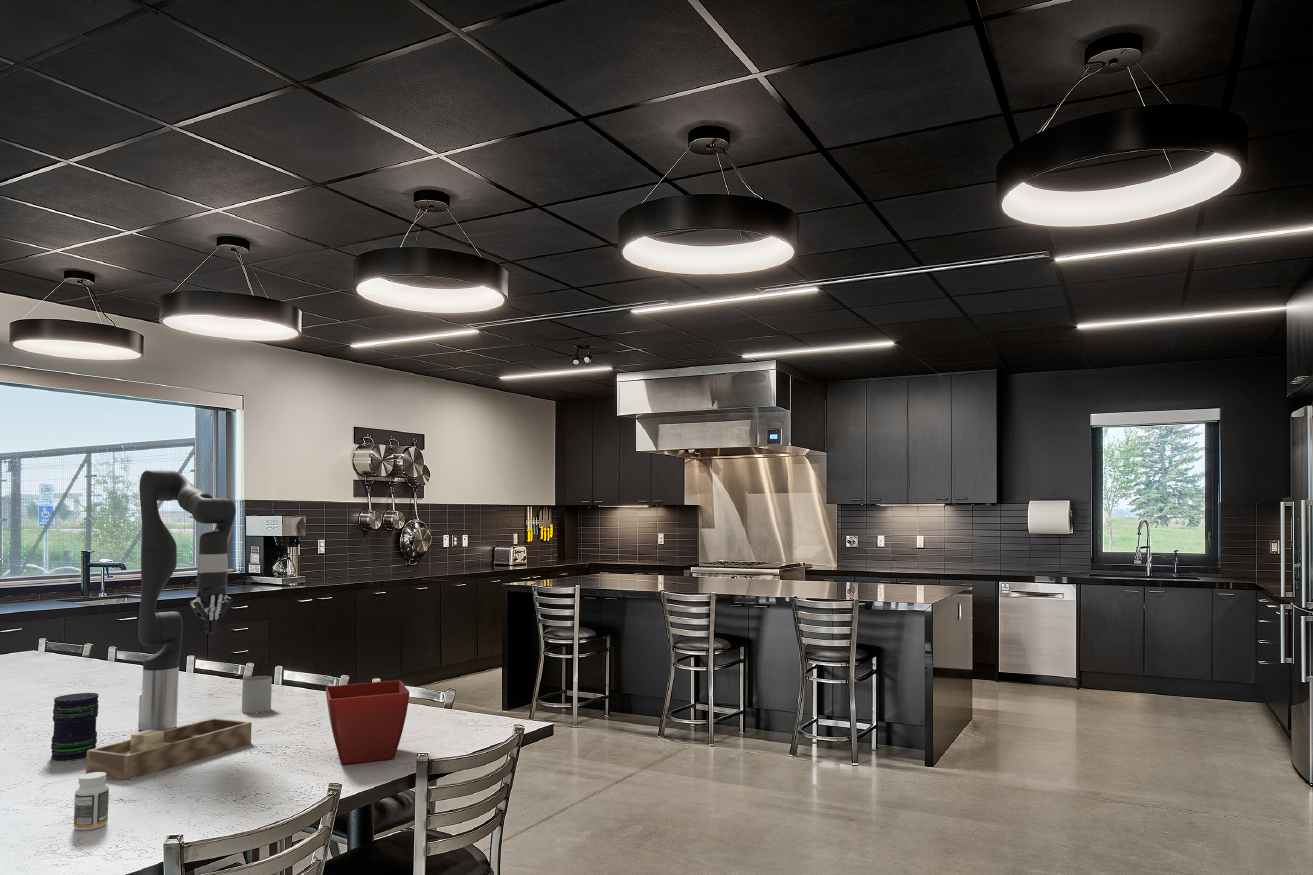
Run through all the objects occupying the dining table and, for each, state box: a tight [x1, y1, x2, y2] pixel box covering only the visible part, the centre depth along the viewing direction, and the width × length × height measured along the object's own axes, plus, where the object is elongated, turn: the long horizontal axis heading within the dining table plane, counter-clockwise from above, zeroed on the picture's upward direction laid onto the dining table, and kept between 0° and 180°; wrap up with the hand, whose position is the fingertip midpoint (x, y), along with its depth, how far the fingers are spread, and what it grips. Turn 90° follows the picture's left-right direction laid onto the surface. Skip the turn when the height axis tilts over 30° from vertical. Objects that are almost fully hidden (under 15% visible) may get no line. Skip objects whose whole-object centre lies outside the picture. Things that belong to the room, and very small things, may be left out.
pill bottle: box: [73, 772, 110, 831], centre depth 175 cm, size 6×6×10 cm
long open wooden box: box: [85, 717, 252, 781], centre depth 225 cm, size 36×14×6 cm, turn 158°
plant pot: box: [325, 680, 410, 765], centre depth 226 cm, size 19×19×17 cm
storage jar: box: [50, 692, 99, 762], centre depth 228 cm, size 10×10×15 cm
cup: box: [241, 675, 273, 714], centre depth 279 cm, size 8×8×10 cm
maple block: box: [130, 730, 165, 754], centre depth 218 cm, size 5×5×5 cm
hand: (210, 633), depth 243 cm, fingers closed
